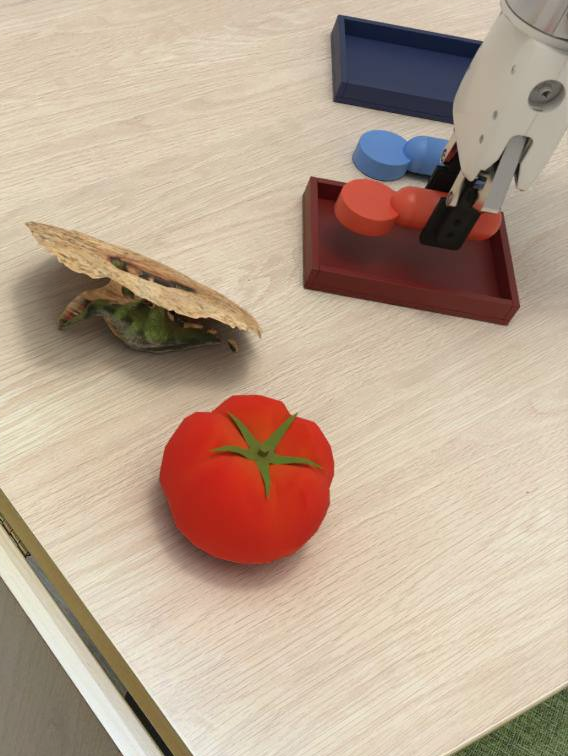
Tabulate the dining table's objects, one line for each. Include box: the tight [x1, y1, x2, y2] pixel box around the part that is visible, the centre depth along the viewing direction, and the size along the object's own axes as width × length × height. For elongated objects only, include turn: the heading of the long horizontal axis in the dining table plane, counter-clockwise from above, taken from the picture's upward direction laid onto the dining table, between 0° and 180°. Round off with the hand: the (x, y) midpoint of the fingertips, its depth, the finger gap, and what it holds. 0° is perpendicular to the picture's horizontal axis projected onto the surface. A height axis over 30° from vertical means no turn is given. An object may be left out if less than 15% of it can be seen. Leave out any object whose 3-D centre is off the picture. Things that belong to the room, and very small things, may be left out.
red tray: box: [302, 175, 521, 326], centre depth 80 cm, size 16×11×2 cm
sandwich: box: [24, 220, 266, 355], centre depth 71 cm, size 18×14×8 cm
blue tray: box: [330, 13, 483, 125], centre depth 93 cm, size 16×11×2 cm
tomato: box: [158, 394, 335, 565], centre depth 62 cm, size 11×11×8 cm
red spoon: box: [334, 178, 502, 241], centre depth 76 cm, size 12×5×3 cm, turn 82°
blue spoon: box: [352, 129, 491, 185], centre depth 86 cm, size 12×5×3 cm, turn 82°
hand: (437, 227), depth 77 cm, fingers closed on red spoon, 3 cm apart
